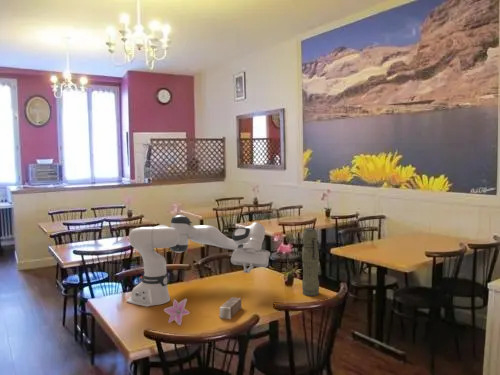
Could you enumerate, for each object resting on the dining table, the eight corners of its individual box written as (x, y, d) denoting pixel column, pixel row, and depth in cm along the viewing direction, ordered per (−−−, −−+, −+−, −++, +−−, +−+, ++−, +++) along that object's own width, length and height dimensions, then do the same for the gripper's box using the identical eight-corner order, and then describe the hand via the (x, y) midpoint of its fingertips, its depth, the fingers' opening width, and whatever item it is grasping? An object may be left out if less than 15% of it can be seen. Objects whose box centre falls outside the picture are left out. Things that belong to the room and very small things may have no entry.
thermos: (310, 289, 241) (310, 226, 238) (324, 294, 231) (323, 229, 228) (297, 291, 237) (296, 228, 234) (310, 297, 226) (310, 231, 224)
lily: (162, 320, 202) (158, 306, 197) (183, 305, 208) (179, 292, 203) (177, 335, 194) (173, 321, 189) (198, 319, 200) (194, 305, 195)
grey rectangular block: (232, 307, 215) (219, 317, 201) (231, 297, 215) (219, 307, 201) (241, 308, 214) (229, 319, 200) (241, 298, 213) (229, 308, 199)
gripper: (272, 254, 232) (266, 277, 224) (236, 251, 239) (230, 273, 231) (269, 247, 228) (264, 270, 219) (233, 245, 235) (226, 267, 226)
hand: (246, 272), depth 225 cm, fingers closed
